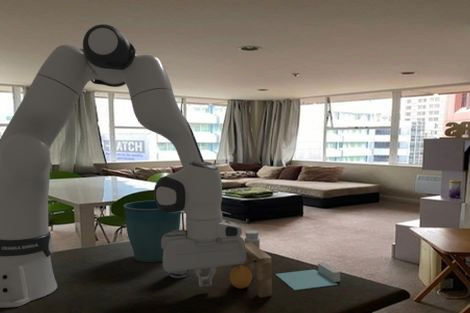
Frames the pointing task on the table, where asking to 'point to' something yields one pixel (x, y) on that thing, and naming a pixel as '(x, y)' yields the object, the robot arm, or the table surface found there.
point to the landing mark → (305, 279)
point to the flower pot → (148, 229)
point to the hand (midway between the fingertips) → (205, 285)
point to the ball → (240, 277)
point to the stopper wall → (329, 272)
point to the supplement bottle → (252, 238)
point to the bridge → (259, 268)
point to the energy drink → (179, 273)
